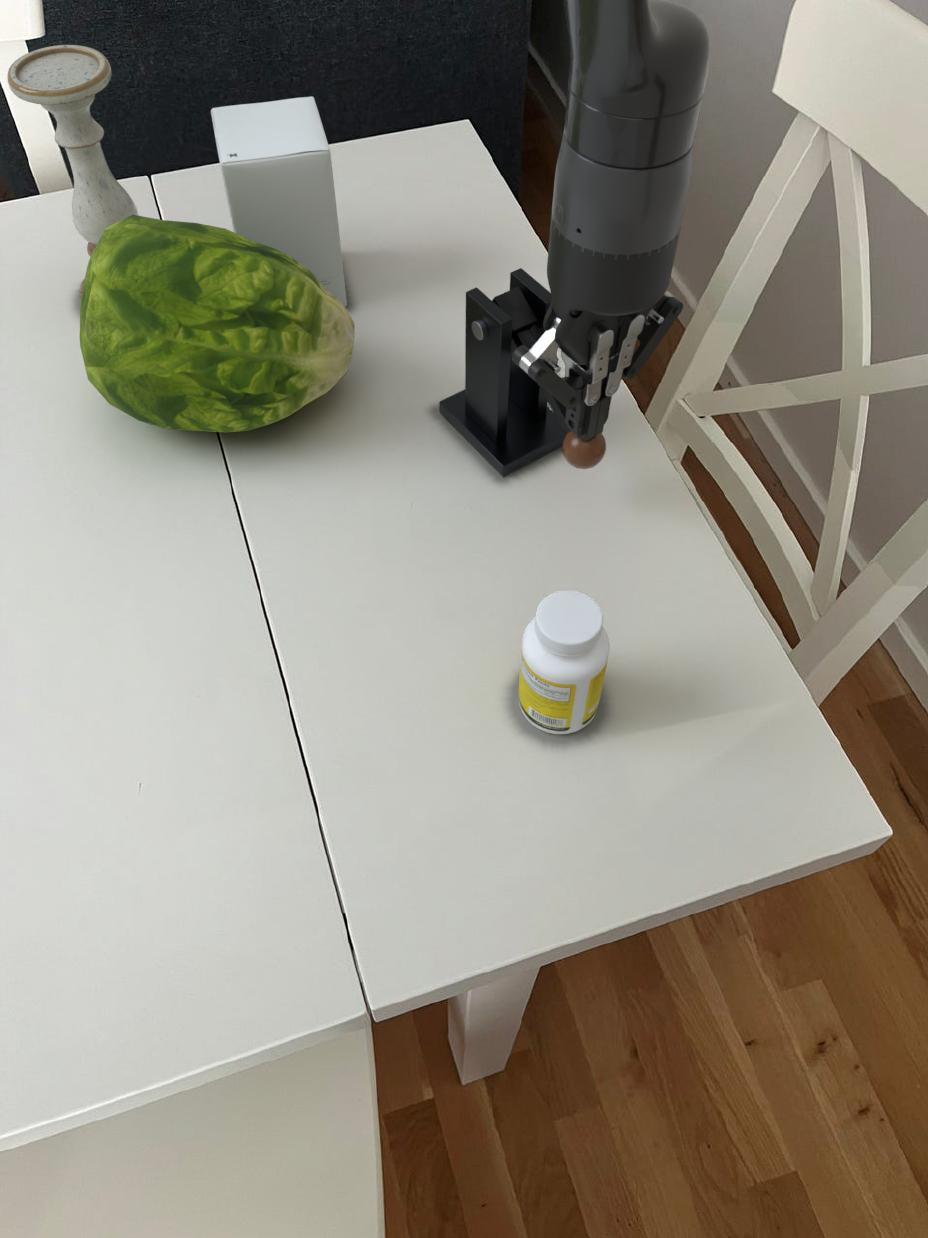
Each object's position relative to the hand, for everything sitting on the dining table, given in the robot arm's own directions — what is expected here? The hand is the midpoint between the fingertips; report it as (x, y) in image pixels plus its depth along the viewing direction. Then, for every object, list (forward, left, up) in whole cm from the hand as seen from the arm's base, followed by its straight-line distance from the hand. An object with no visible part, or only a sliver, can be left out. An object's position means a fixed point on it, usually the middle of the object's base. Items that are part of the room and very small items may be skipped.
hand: (585, 430), depth 71 cm
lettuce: (+30, +5, -7) cm, 31 cm away
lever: (+5, -2, 0) cm, 5 cm away
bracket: (+9, -4, -7) cm, 12 cm away
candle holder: (+47, -1, -7) cm, 47 cm away
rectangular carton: (+35, -10, -7) cm, 37 cm away
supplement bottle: (-7, +17, -7) cm, 20 cm away
